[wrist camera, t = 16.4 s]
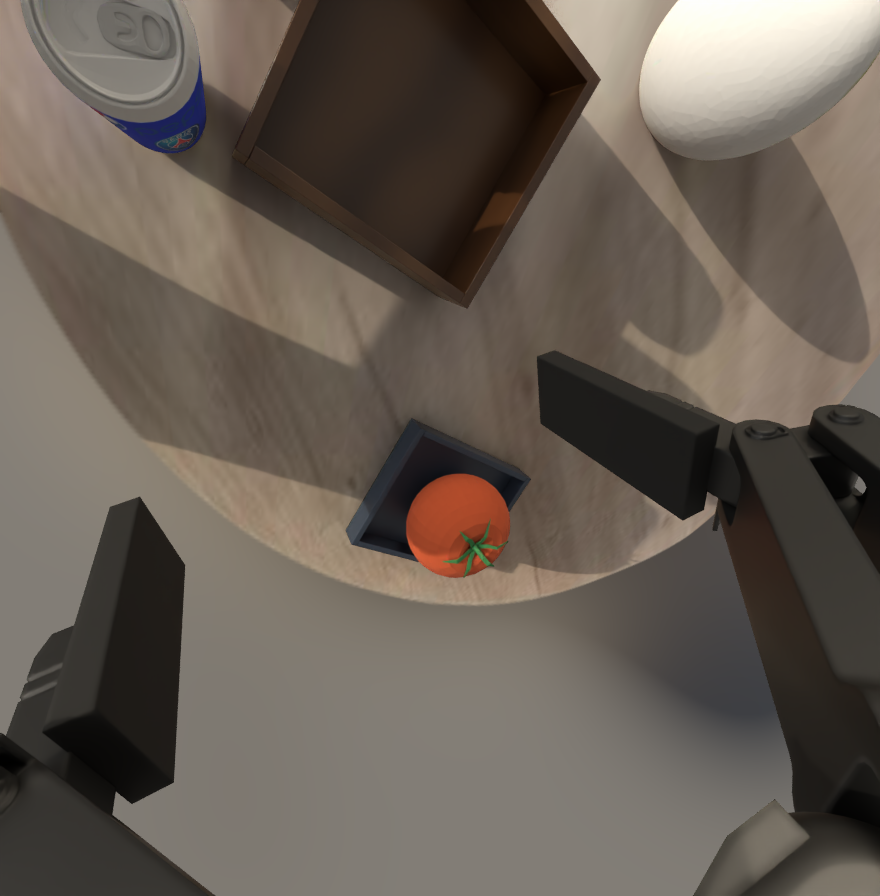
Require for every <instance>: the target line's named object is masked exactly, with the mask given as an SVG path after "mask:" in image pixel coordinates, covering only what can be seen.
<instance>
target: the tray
mask: <svg viewBox="0 0 880 896" xmlns="http://www.w3.org/2000/svg"><path fill="white" fill-rule="evenodd" d="M451 474H469V475H474V476H477V477H479V478H482V479H484V480H486V481H487V482H488V483H490V484H491V485H492V486H494V487H495V488H496V489H497V490H498V492H499V493H500V495H501V496H502V497H503V499H504V500H505V503H506V506H507V508H508V511H510V510H511V508H512V507H513V505H514V504H515V502H516V501H517V499H518V498H519V496H520V495H521V493H522V492H523V490H524V489H525V487H526V486H527V484H528V483H529V481H530V480H531V479H530V478H529V477H528V476H527V475H526V474H525V473H524V472H522V471H521V470H520V469H519V468H517V467H514V466H512V465H510V464H508V463H506V462H504V461H502V460H499V459H497V458H495V457H493V456H491V455H489V454H487V453H485V452H482V451H480V450H478V449H476V448H474V447H472V446H470V445H467V444H465V443H463V442H461V441H459V440H457V439H455V438H452V437H450V436H448V435H446V434H444V433H442V432H440V431H438V430H435V429H433V428H431V427H429V426H427V425H425V424H423V423H420V422H418V421H416V420H414V419H411V420H410V422H409V424H408V425H407V427H406V429H405V430H404V432H403V434H402V435H401V437H400V439H399V441H398V442H397V444H396V446H395V447H394V449H393V451H392V453H391V454H390V456H389V458H388V459H387V461H386V463H385V464H384V466H383V468H382V470H381V471H380V473H379V475H378V476H377V478H376V480H375V481H374V483H373V485H372V487H371V488H370V490H369V492H368V493H367V495H366V497H365V498H364V500H363V502H362V504H361V505H360V507H359V509H358V510H357V512H356V514H355V515H354V517H353V519H352V521H351V522H350V524H349V526H348V527H347V529H346V532H347V535H348V537H349V540H350V542H351V544H352V545H355V546H359V547H363V548H367V549H371V550H375V551H378V552H382V553H386V554H390V555H394V556H398V557H402V558H406V559H409V560H413V561H417V562H419V561H418V560H417V558H416V557H415V556H414V554H413V552H412V550H411V548H410V546H409V543H408V539H407V534H406V520H407V515H408V512H409V509H410V507H411V504H412V502H413V500H414V499H415V497H416V496H417V494H418V493H419V492H420V491H421V490H422V489H423V488H424V487H425V486H426V485H428V484H429V483H430V482H432V481H434V480H436V479H437V478H440V477H443V476H446V475H451Z"/></svg>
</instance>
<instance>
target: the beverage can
mask: <svg viewBox="0 0 880 896" xmlns="http://www.w3.org/2000/svg"><path fill="white" fill-rule="evenodd" d="M21 6H22V12H23V16H24V19H25V23H26V27H27V29H28V31H29V34H30V36H31V39H32V41H33V43H34V45H35V47H36V48H37V50H38V52H39V54H40V55H41V57H42V59H43V60H44V62H45V63H46V64H47V66H48V67H49V69H50V70H51V71H52V73H53V74H54V75H55V76H56V77H57V78H58V79H59V80H60V81H61V83H62V84H63V85H64V86H65V87H66V88H68V89H69V90H70V91H71V92H72V93H73V94H74V95H75V96H77V97H78V98H79V99H81V100H82V101H83V102H85V103H86V104H87V105H88V106H90V107H91V108H92V109H94V110H95V111H96V112H98V113H99V114H100V115H102V116H103V117H104V118H106V119H107V120H108V121H110V122H111V123H112V124H114V125H115V126H116V127H118V128H119V129H120V130H122V131H123V132H124V133H126V134H127V135H128V136H130V137H131V138H132V139H134V140H135V141H136V142H138V143H139V144H141V145H143V146H145V147H147V148H149V149H151V150H154V151H158V152H162V153H178V152H182V151H185V150H187V149H189V148H191V147H192V146H193V145H194V144H195V143H196V142H197V141H198V140H199V139H200V137H201V135H202V133H203V131H204V127H205V122H206V107H205V98H204V90H203V81H202V73H201V64H200V56H199V48H198V42H197V37H196V33H195V30H194V26H193V23H192V21H191V18H190V16H189V14H188V11H187V9H186V7H185V5H184V3H183V2H182V0H21Z"/></svg>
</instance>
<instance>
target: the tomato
mask: <svg viewBox="0 0 880 896" xmlns="http://www.w3.org/2000/svg"><path fill="white" fill-rule="evenodd" d="M509 531H510V517H509V511H508V508H507V506H506V503H505V500H504V499H503V497H502V496H501V495H500V493H499V492H498V490H497V489H496V488H495V487H494V486H492V485H491V484H490V483H488V482H487V481H486V480H484V479H482V478H479V477H477V476H474V475H469V474H451V475H446V476H443V477H440V478H437V479H436V480H434V481H432V482H430V483H429V484H428V485H426V486H425V487H424V488H423V489H422V490H421V491H420V492H419V493H418V494H417V496H416V497H415V499H414V500H413V502H412V504H411V507H410V509H409V512H408V515H407V520H406V534H407V539H408V543H409V546H410V548H411V550H412V552H413V554H414V556H415V557H416V558H417V560H418V561H419V562H420V563H421V564H422V565H423V566H424V567H426V568H427V569H429V570H430V571H432V572H434V573H436V574H439V575H442V576H446V577H452V578H458V577H465V576H469V575H473V574H476V573H477V572H479V571H481V570H483V569H485V568H487V567H488V566H493V567H494V565H492V563H493V562H494V561H495V560H496V559H497V558H498V556H499V555H500V553H501V552H502V550H503V548H504V546H505V544H506V543H507V542H508V541H507V539H508V536H509Z"/></svg>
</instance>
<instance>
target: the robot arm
mask: <svg viewBox="0 0 880 896" xmlns="http://www.w3.org/2000/svg"><path fill="white" fill-rule="evenodd" d="M537 368H538V386H539V404H540V422H541V424H542V425H544V426H545V427H547V428H548V429H549V430H551V431H552V432H554V433H555V434H557V435H558V436H560V437H561V438H563V439H564V440H566V441H567V442H568V443H570V444H571V445H573V446H574V447H576V448H577V449H579V450H580V451H582V452H583V453H585V454H586V455H588V456H589V457H590V458H592V459H593V460H595V461H596V462H598V463H599V464H601V465H602V466H604V467H605V468H607V469H608V470H609V471H611V472H612V473H614V474H615V475H617V476H618V477H620V478H621V479H623V480H624V481H626V482H627V483H629V484H630V485H631V486H633V487H634V488H636V489H637V490H639V491H640V492H642V493H643V494H645V495H646V496H648V497H649V498H650V499H652V500H653V501H655V502H656V503H658V504H659V505H661V506H662V507H664V508H665V509H667V510H668V511H670V512H671V513H672V514H674V515H675V516H677V517H678V518H680V519H681V520H685V519H687V518H689V517H691V516H693V515H695V514H696V513H698V512H700V511H702V510H704V507H705V501H706V496H707V492H709V493H711V494H712V495H714V496H716V497H717V498H718V503H717V507H716V512H715V517H714V522H713V531H717V529H718V525H719V524H720V523H721V525H722V528H723V532H724V535H725V539H726V542H727V545H728V549H729V552H730V555H731V559H732V562H733V566H734V569H735V572H736V576H737V579H738V582H739V586H740V589H741V592H742V596H743V599H744V603H745V606H746V609H747V613H748V616H749V620H750V623H751V626H752V630H753V633H754V636H755V640H756V643H757V647H758V650H759V653H760V657H761V660H762V663H763V666H764V670H765V673H766V677H767V680H768V683H769V687H770V690H771V694H772V697H773V701H774V704H775V707H776V710H777V714H778V717H779V721H780V724H781V728H782V731H783V734H784V738H785V741H786V744H787V748H788V751H789V754H790V759H791V763H792V771H793V776H792V777H793V778H792V795H793V804H794V809H795V812H793V813H787V812H786V811H785V810H784V808H783V807H782V806H781V805H780V804H779V803H778V802H777V801H776V800H775V799H774V800H773V801H772V802H771V803H769V804H768V805H767V806H765V807H764V808H763V809H761V810H760V811H759V812H757V814H755V815H754V816H752V817H751V818H750V819H749V820H747V821H746V822H745V823H743V824H742V825H741V826H740V827H738V828H737V829H736V830H734V831H733V832H732V833H731V834H729V835H728V836H727V837H726V839H725V841H724V842H723V844H722V846H721V848H720V849H719V851H718V853H717V855H716V856H715V858H714V860H713V862H712V864H711V865H710V867H709V869H708V870H707V872H706V874H705V876H704V878H703V880H702V881H701V883H700V885H699V886H698V888H697V890H696V892H695V893H694V895H693V896H880V418H879V417H878V416H876V415H875V414H873V413H870V412H868V411H866V410H864V409H860V408H857V407H855V406H850V405H847V406H845V405H827V406H823V407H819V408H818V409H816V410H815V411H814V412H813V416H812V419H811V422H810V425H808V426H802V427H797V428H791V429H789V428H787V427H785V426H783V425H781V424H779V423H775V422H771V421H767V420H746V421H743V422H740V423H737V424H735V423H733V422H730V421H728V420H726V419H723V418H721V417H719V416H716V415H714V414H712V413H709V412H707V411H705V410H703V409H700V408H698V407H695V408H694V407H693V405H691V404H689V403H686V402H682V401H681V400H679V399H677V398H675V397H672V396H670V395H668V394H664V393H659V392H654V391H649V390H648V391H645V390H643V389H640V388H638V387H636V386H634V385H631V384H629V383H627V382H625V381H622V380H620V379H618V378H616V377H614V376H611V375H609V374H607V373H605V372H602V371H600V370H598V369H596V368H593V367H591V366H589V365H587V364H584V363H582V362H580V361H578V360H575V359H573V358H571V357H569V356H566V355H564V354H562V353H560V352H558V351H555V350H554V351H552V352H549V353H546V354H543V355H540V356H537ZM858 476H859V477H861V478H862V480H863V481H864V483H865V485H866V487H867V488H866V490H865V492H864V493H863V494H862V493H860V492H859V491H858V490H857V489H856V488H855V487H854V486H855V484H856V481H857V479H858ZM184 578H185V564H184V563H183V561H182V560H181V558H180V557H179V555H178V554H177V552H176V551H175V549H174V548H173V546H172V545H171V543H170V542H169V540H168V539H167V537H166V535H165V534H164V532H163V531H162V530H161V528H160V526H159V525H158V523H157V522H156V520H155V519H154V518H153V516H152V514H151V513H150V511H149V510H148V508H147V507H146V505H145V504H144V502H143V501H142V499H141V498H140V497H138V498H135V499H132V500H129V501H126V502H123V503H120V504H118V505H115V506H112V507H110V509H109V512H108V515H107V519H106V522H105V525H104V528H103V532H102V535H101V538H100V542H99V545H98V548H97V552H96V555H95V558H94V561H93V565H92V568H91V571H90V575H89V578H88V581H87V585H86V588H85V591H84V595H83V598H82V601H81V604H80V608H79V611H78V614H77V618H76V621H75V624H74V626H71V627H69V628H66V629H64V630H61V631H59V632H57V633H54V634H52V635H51V637H50V638H49V639H48V641H47V642H46V643H45V645H44V646H43V647H42V649H41V650H40V651H39V652H38V654H37V655H36V657H35V658H34V661H33V664H32V666H31V669H30V672H29V674H28V677H27V681H28V683H26V684H25V685H24V688H23V691H22V694H21V696H20V698H21V701H20V702H18V704H17V707H16V710H15V713H14V715H13V718H12V721H11V723H10V726H9V729H8V732H7V734H6V736H5V735H4V734H2V733H0V896H215V895H214V894H212V893H211V892H210V891H209V890H207V889H206V888H205V887H204V886H202V885H201V884H200V883H198V882H197V881H196V880H195V879H193V878H192V877H191V876H189V875H188V874H187V873H186V872H185V871H183V870H182V869H181V868H179V867H178V866H177V865H176V864H174V863H173V862H172V861H170V860H169V859H168V858H167V857H165V856H164V855H163V854H162V853H160V852H159V851H157V849H155V848H154V847H153V846H152V845H150V844H149V843H148V842H146V841H145V840H144V839H143V838H141V837H140V836H139V835H137V834H136V833H135V832H134V831H132V830H131V829H130V828H129V827H127V826H126V825H125V824H124V823H122V822H121V821H120V820H118V819H117V818H116V817H114V816H113V815H112V813H113V806H114V799H115V793H116V792H117V793H119V794H120V795H121V796H123V797H124V798H125V799H126V800H127V801H129V802H130V803H131V804H133V803H135V802H137V801H139V800H141V799H142V798H144V797H146V796H148V795H150V794H152V793H154V792H156V791H158V790H160V789H162V788H164V787H166V786H168V785H170V784H172V783H173V782H174V768H175V749H176V730H177V729H176V728H177V711H178V710H177V709H178V692H179V673H180V653H181V634H182V616H183V615H182V614H183V597H184Z"/></svg>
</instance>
